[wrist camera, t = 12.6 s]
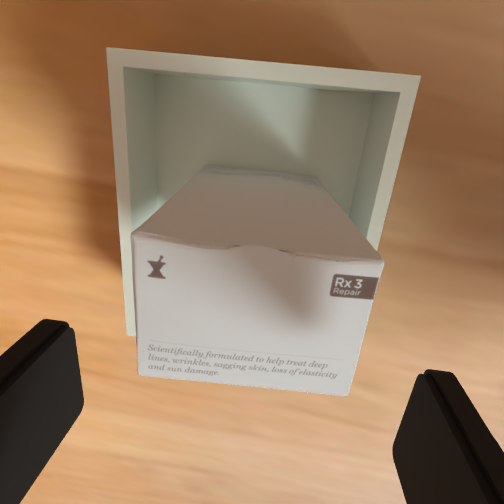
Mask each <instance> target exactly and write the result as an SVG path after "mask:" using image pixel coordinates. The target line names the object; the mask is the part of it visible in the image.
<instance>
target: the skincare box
mask: <svg viewBox="0 0 504 504" xmlns="http://www.w3.org/2000/svg"><path fill="white" fill-rule="evenodd" d="M130 238H131V251H132V278H133V294H134V310H135V327H136V343H137V373H138V375H140V376H148V377H157V378H168V379H179V380H190V381H201V382H210V383H221V384H231V385H241V386H251V387H260V388H270V389H280V390H290V391H300V392H309V393H319V394H328V395H336V396H347V395H348V394H349V390H350V387H351V384H352V380H353V376H354V372H355V369H356V365H357V362H358V357H359V353H360V349H361V346H362V342H363V338H364V334H365V331H366V327H367V323H368V319H369V315H370V312H371V308H372V304H373V301H374V297H375V294H376V290H377V287H378V284H379V280H380V277H381V274H382V270H383V267H384V264H385V262H384V260H383V259H382V257H381V256H380V255H379V254H378V253H377V251H376V250H375V249H374V248H373V246H372V245H371V244H370V243H369V241H368V240H367V239H366V238H365V237H364V235H363V234H362V233H361V232H360V231H359V229H358V228H357V227H356V226H355V224H354V223H353V222H352V221H351V220H350V218H349V217H348V216H347V214H346V213H345V212H344V211H343V209H342V208H341V207H340V206H339V205H338V203H337V202H336V201H335V200H334V198H333V197H332V196H331V195H330V193H329V192H328V191H327V190H326V189H325V187H324V186H323V185H322V183H321V182H320V181H319V180H318V178H317V177H313V176H308V175H300V174H292V173H283V172H275V171H266V170H257V169H248V168H236V167H221V166H215V165H205V166H204V167H203V168H202V169H201V170H200V171H199V172H198V173H197V174H196V175H195V176H194V177H193V178H192V179H190V180H189V181H188V182H187V183H186V184H185V185H184V186H183V187H182V188H181V189H180V190H179V191H177V192H176V193H175V194H174V195H173V196H172V197H171V198H170V199H169V200H168V201H167V202H166V203H164V204H163V205H162V206H161V207H160V208H159V209H158V210H157V211H156V212H155V213H154V214H152V215H151V216H150V218H148V219H147V220H146V221H145V222H144V223H143V224H142V225H140V226H139V227H138V228H137V229H135V230H134V231H133V232H131V236H130Z"/></svg>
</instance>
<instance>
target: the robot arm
mask: <svg viewBox="0 0 504 504" xmlns="http://www.w3.org/2000/svg"><path fill="white" fill-rule="evenodd" d="M83 405H84V397H83V390H82V383H81V375H80V368H79V361H78V354H77V347H76V340H75V333H74V330H73V328H70V327H69V324H68V323H67V322H65V321H57V320H50V319H43V320H42V321H40V322H39V323H38V324H36V325H35V326H34V327H33V328H32V329H31V330H30V331H28V332H27V333H26V334H25V335H24V336H23V337H22V338H20V339H19V340H18V341H17V342H16V343H15V344H13V345H12V346H11V347H10V348H9V349H8V350H7V351H5V352H4V353H3V354H2V355H1V356H0V504H20V502H21V501H22V499H23V498H24V496H25V495H26V493H27V492H28V490H29V489H30V487H31V486H32V484H33V483H34V481H35V480H36V479H37V477H38V476H39V474H40V473H41V471H42V470H43V468H44V467H45V465H46V464H47V462H48V461H49V459H50V458H51V456H52V455H53V453H54V452H55V450H56V449H57V447H58V446H59V444H60V443H61V441H62V440H63V438H64V437H65V435H66V434H67V433H68V431H69V430H70V428H71V427H72V425H73V424H74V422H75V421H76V419H77V418H78V416H79V415H80V413H81V411H82V408H83ZM393 459H394V463H395V466H396V469H397V473H398V476H399V479H400V483H401V486H402V489H403V493H404V496H405V499H406V503H407V504H504V452H503V451H502V449H501V447H500V446H499V444H498V443H497V441H496V440H495V439H494V437H493V436H492V434H491V433H490V431H489V429H488V428H487V426H486V425H485V423H484V421H483V420H482V418H481V417H480V415H479V413H478V412H477V410H476V409H475V407H474V405H473V404H472V402H471V401H470V399H469V397H468V396H467V394H466V392H465V391H464V389H463V388H462V386H461V384H460V383H459V381H458V380H457V378H456V376H455V375H454V374H453V373H451V372H446V371H439V370H431V369H428V370H426V371H425V372H424V374H419V375H418V376H417V379H416V381H415V384H414V387H413V390H412V393H411V396H410V398H409V401H408V404H407V407H406V410H405V412H404V415H403V418H402V421H401V424H400V427H399V429H398V432H397V435H396V438H395V441H394V444H393Z"/></svg>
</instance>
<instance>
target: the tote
mask: <svg viewBox="0 0 504 504" xmlns="http://www.w3.org/2000/svg"><path fill="white" fill-rule="evenodd" d="M106 55H107V69H108V83H109V96H110V110H111V124H112V137H113V151H114V165H115V179H116V192H117V206H118V220H119V233H120V247H121V261H122V275H123V288H124V302H125V316H126V329H127V336H136V327H135V310H134V294H133V278H132V251H131V238H130V236H131V232H133V231H134V230H135V229H137V228H138V227H139V226H140V225H142V224H143V223H144V222H145V221H146V220H147V219H148V218H150V216H151V215H152V214H154V213H155V212H156V211H157V210H158V209H159V208H160V207H161V206H162V205H163V204H164V203H166V202H167V201H168V200H169V199H170V198H171V197H172V196H173V195H174V194H175V193H176V192H177V191H179V190H180V189H181V188H182V187H183V186H184V185H185V184H186V183H187V182H188V181H189V180H190V179H192V178H193V177H194V176H195V175H196V174H197V173H198V172H199V171H200V170H201V169H202V168H203V167H204V166H205V165H215V166H221V167H236V168H248V169H257V170H266V171H275V172H283V173H292V174H300V175H308V176H313V177H317V178H318V180H319V181H320V182H321V183H322V185H323V186H324V187H325V189H326V190H327V191H328V192H329V193H330V195H331V196H332V197H333V198H334V200H335V201H336V202H337V203H338V205H339V206H340V207H341V208H342V209H343V211H344V212H345V213H346V214H347V216H348V217H349V218H350V220H351V221H352V222H353V223H354V224H355V226H356V227H357V228H358V229H359V231H360V232H361V233H362V234H363V235H364V237H365V238H366V239H367V240H368V241H369V243H370V244H371V245H372V246H373V248H374V249H375V250H376V251H377V250H378V246H379V242H380V238H381V234H382V230H383V226H384V222H385V218H386V214H387V210H388V206H389V202H390V198H391V194H392V190H393V186H394V182H395V178H396V174H397V170H398V166H399V162H400V158H401V154H402V150H403V146H404V142H405V139H406V135H407V131H408V127H409V123H410V119H411V115H412V111H413V107H414V103H415V99H416V95H417V91H418V87H419V83H420V79H421V76H419V75H408V74H397V73H386V72H375V71H364V70H353V69H342V68H331V67H320V66H309V65H299V64H288V63H277V62H266V61H255V60H244V59H233V58H222V57H211V56H200V55H189V54H178V53H167V52H156V51H145V50H134V49H123V48H112V47H106Z"/></svg>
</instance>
